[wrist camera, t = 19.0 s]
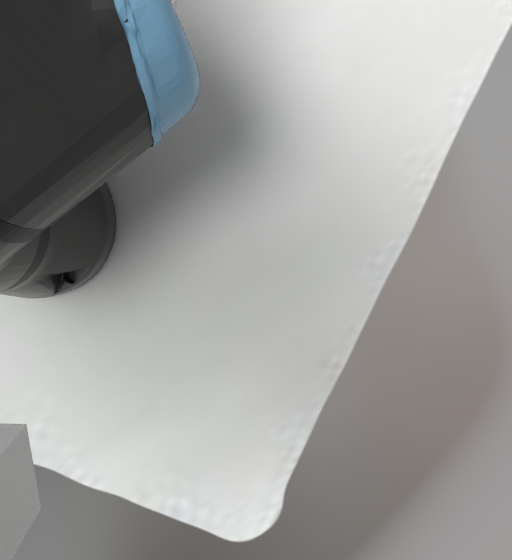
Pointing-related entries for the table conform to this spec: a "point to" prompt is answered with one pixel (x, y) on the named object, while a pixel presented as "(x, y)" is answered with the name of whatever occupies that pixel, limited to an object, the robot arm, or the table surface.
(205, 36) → the table surface
